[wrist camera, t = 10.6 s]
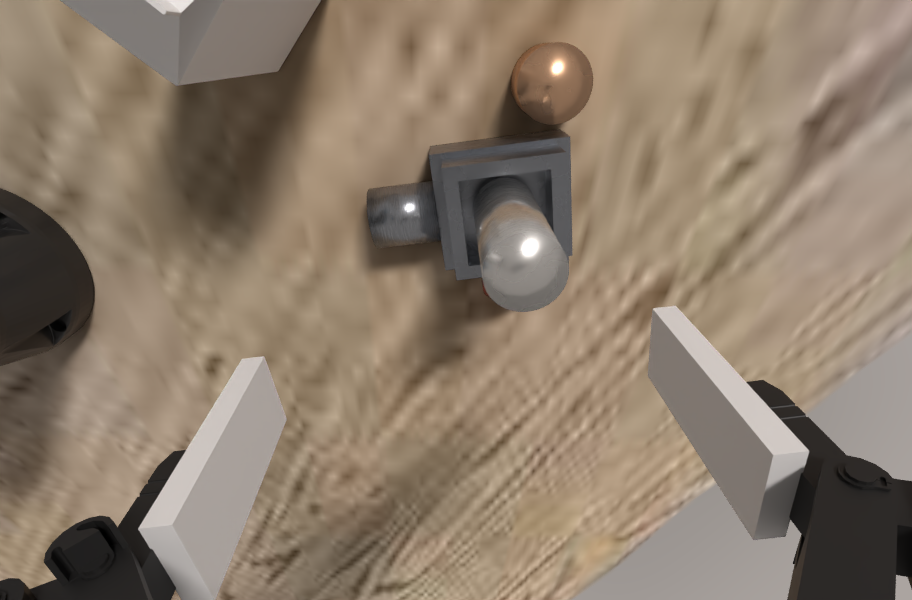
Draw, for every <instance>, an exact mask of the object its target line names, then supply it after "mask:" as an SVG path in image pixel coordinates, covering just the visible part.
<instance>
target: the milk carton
mask: <svg viewBox="0 0 912 600" xmlns="http://www.w3.org/2000/svg"><path fill="white" fill-rule="evenodd" d="M60 1H61V2H63V3H64V4H65V5H67V6H68V7H70V8H71V9H72V10H74V11H75V12H76V13H78V14H79V15H80V16H82V17H83V18H84V19H86V20H87V21H89V22H90V23H91V24H93V25H94V26H95V27H97V28H98V29H99V30H101V31H102V32H103V33H105V34H106V35H108V36H109V37H110V38H112V39H113V40H114V41H116V42H117V43H118V44H120V45H121V46H122V47H124V48H125V49H127V50H128V51H129V52H131V53H132V54H133V55H135V56H136V57H137V58H139V59H140V60H141V61H143V62H144V63H146V64H147V65H148V66H150V67H151V68H152V69H154V70H155V71H156V72H158V73H159V74H160V75H162V76H163V77H165V78H166V79H167V80H169V81H170V82H172V83H173V84H174V85H176V86H178V85H185V84H193V83H200V82H207V81H214V80H221V79H228V78H235V77H242V76H250V75H257V74H264V73H271V72H277V71H279V69H280V67H281V66H282V64H283V62H284V61H285V59H286V57H287V56H288V54H289V53H290V51H291V49H292V48H293V46H294V44H295V43H296V41H297V39H298V38H299V36H300V34H301V33H302V31H303V29H304V28H305V26H306V24H307V23H308V21H309V19H310V18H311V16H312V14H313V13H314V11H315V9H316V8H317V6H318V5H319V3H320V1H321V0H60Z"/></svg>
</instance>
